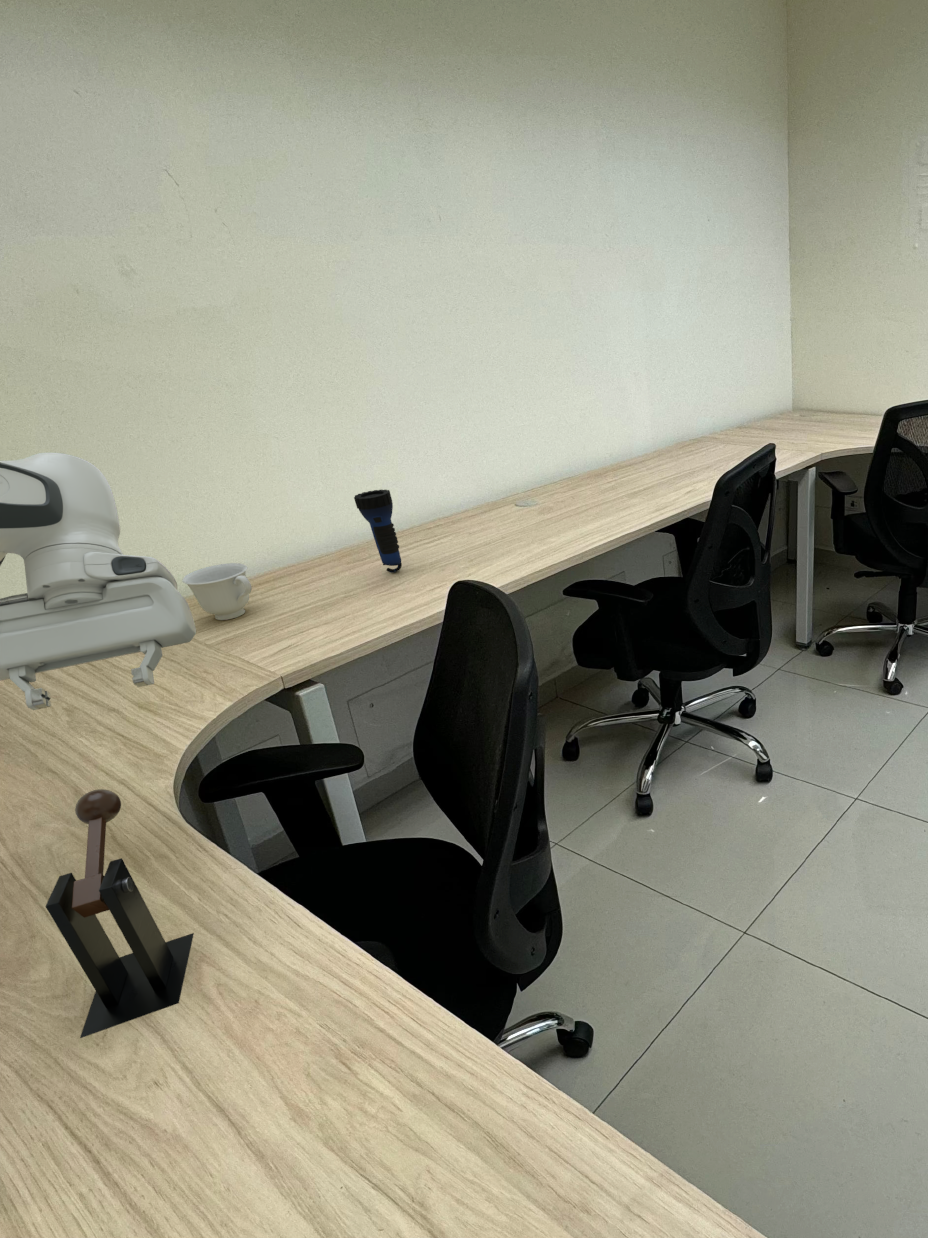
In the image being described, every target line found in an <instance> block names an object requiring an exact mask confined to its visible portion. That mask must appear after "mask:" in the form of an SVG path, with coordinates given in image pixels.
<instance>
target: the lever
mask: <svg viewBox="0 0 928 1238" xmlns="http://www.w3.org/2000/svg"><path fill="white" fill-rule="evenodd" d="M121 808H122V801H121V799H120V796H119V795H118V794H116V793H115V792H114V791H112V790H109V789H105V788H104V789H103V788H99V789H93V790H90V791H88V792H86V793H85V794H83V795H82V796H80V797H79V799H78V801H77V802H76V805H75V810H74V811H75V816H76V818H77V819H78V820H79V821H81V822H82V823H83V824H86V825H88V828H87V843H86V855H85V857H86V858H85V871H84V878H81V879H76V881H74V885H73V897H72V909H73V910H75V911H76V912H77V913H79V914H80V915H81V916H83V917H84V918H85V917H88V916H91V915H98V914H102V913H105V912H107V911H110V910H109V908H108V906H107V905H106V903H105V901H104V899H103V897H102V896H101V894H100V892H99V889H100V886H101V884H102V881H103V878H104V876H105V874H104V871H105V869H104V867H105V851H106V833H107V823H109V822H111V821H113V820H114V819H115V818H116V817H117V816H118V814H119V813H120V811H121Z"/></svg>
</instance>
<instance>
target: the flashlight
mask: <svg viewBox="0 0 928 1238" xmlns="http://www.w3.org/2000/svg"><path fill="white" fill-rule="evenodd" d="M353 499H354V502H355V506H356V509H358V511H359V512H360V514H361V516H362V517H363V518H364V519H365V521H367V522H368V524H369V526H370V530H371V532H372V536H373V539H374V543H375V545H376V548H377V551H378V554H379V557H380V560H381V563H382V566H389V567H388V568H386V571H387V572H389V573H397V572H399V571H400V570H401V568H402V565H403V564H402V557H401V553H400V545H399V540H398V536H397V532H396V529H395V527H394V526H395V525H394V523H393V522H392V515H393V510H394V509H393V508H394V505H393V504H394V503H393V499H392V495H391V491H390V489H373V490H367V491H364V492H361V493H357V494H355V495H354V497H353ZM390 567H395V568H390Z"/></svg>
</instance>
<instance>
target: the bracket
mask: <svg viewBox="0 0 928 1238" xmlns="http://www.w3.org/2000/svg"><path fill="white" fill-rule="evenodd" d="M104 873H105V874H104V878H103V881H102V884H101V886H100V889H99V892H100V894H101V896H102V897H103V899H104V901H105V903H106V905H107V906H108V908H109V910H108V911H109V912H110V914H111V916H112V918H113V919H114V921H115V923H116V924H117V926H118V928H119V930H120V933H121V934H122V935H123V937H124V939H125V941H126V943H127V945H128V947H129V948H130V950H131V952H130V953H128V954H125V955H121V956H119V954H118V952H117V950H116V949H115V947H114V944H113V943H112V942H111V939H110V938H109V937H108V934H107V933H106V931H105V929H104V928H103V926H102V924H101V922H100V920H99V918H98V917H97V914H95V915H91V916H88V917H85V918H84V917H83V916H81V915H80V914H79V913H77V912H76V911H75V910H73V909H72V897H73V885H74V881H77V879H76V877H75V876H74V874H73V872H69V873H65V874H61V875H60V876H58V878H57V880H56V881H55V884H54V887H53V889H52V891H51V893H50V896H49V897H48V900H47V902H46V904H45V908H46V910H47V912H48V914H49V915H50V917H51V919H52V920H53V922H54V924H55V925H56V927H57V929H58V930H59V932H60V933H61V935H62V937H63V939H64V940H65V942H66V944H67V945H68V947H69V948H70V951H71V952H72V953H73V955H74V957H75V958H76V961H77V962H78V963H79V965H80V967H81V969H82V970H83V972H84V974H85V976H86V977H87V979H88V981H89V982H90V984H91V985H92V987H93V989H94V990H95V992H94V994H93V998H92V1000H91V1004H90V1006H89V1010H88V1013H87V1016H86V1019H85V1022H84V1025H83V1028H82V1031H81V1033H80V1036H79V1039H82V1038H86V1037H88V1036H92V1035H93V1034H96V1033H100V1032H102V1031H105V1030H107V1029H111V1028H114V1027H116V1026H119V1025H121V1024H124V1023H127V1022H130V1021H133V1020H135V1019H138V1018H141V1017H144V1016H146V1015H150V1014H153V1013H156V1012H158V1011H162V1010H164V1009H166V1008H169V1007H173V1006H176V1005H178V1004H180V999H181V994H182V991H183V986H184V981H185V977H186V973H187V967H188V962H189V958H190V954H191V953H190V952H191V949H192V943H193V939H194V935H195V934H194V932H192V933H189V934H186V935H183V936H180V937H176V938H173V939H170V940H168V941H166V940H165V938H164V935H162V934H163V933H162V932H161V930H160V928H159V927H158V925H157V923H156V921H155V919H154V917H153V915H152V913H151V911H150V909H149V907H148V906H147V904H146V902H145V900H144V898H143V896H142V894H141V892H140V890H139V888H138V887H137V885H136V882H135V880H134V879H133V877H132V874H131V873H130V871H129V869H128V867H127V865H126V863H125V862H124V859H123V858H122V857H121V858H117V859H114V860H110V861H109V863H108V866H107V867H106V871H105V872H104Z"/></svg>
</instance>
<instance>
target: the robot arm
mask: <svg viewBox="0 0 928 1238" xmlns="http://www.w3.org/2000/svg"><path fill="white" fill-rule="evenodd" d="M120 535H121V524H120V517H119V513H118V508H117V503H116V499H115V495H114V492H113V490H112V487H111V485H110V482H109V480H108V479H107V477H106V476H105V474H104V473H103V472H102V471H101V470H100V469H99V468H98V467H97V466H96V465H95V464H93V463H92V462H90V461H88V460H87V459H84V458H82V457H79V456H76V455H73V454H68V453H63V452H51V451H49V452H47V451H46V452H39V453H35V454H32V455H29V456H27V457H25V458H20V459H11V460H0V567H1V566H2V564H3V562H4V561H5V559H6V556H7V554H14V555H18V556H19V557H21V558H22V560H23V564H24V573H25V584H26V592H25V593H19V594H14V595H8V596H5V597H1V598H0V682H1V681H4V680H9V681H11V682H12V683H13V684H14V685H15V686H17V688H18V689H20V690H21V691H22V692H24V696H25V697H24V699H25V705H26V708H28V709H30V710H32V711H36V710H40V709H46V708H51V706H52V701H51V692H49V691H48V690H46V689H45V688H43V687H40V688H36V687H34V686H33V684H31V683H36V681H37V676H36V674H39V673H44V672H45V673H46V672H49V671H54V670H55V671H56V670H59V669H64V668H69V667H74V666H79V665H85V664H89V663H93V662H100V661H104V660H109V659H114V658H119V657H124V656H128V655H129V656H130V655H133V654H138V653H142V654H143V655H144V656H143V659H142V660H141V662H140V665H139V667H135V668H131V669H130V672H131V675H132V678H131V679H132V680H131V681H132V684H133V685H134V686H136V687H137V688H143V687H147V686H151V685H155V677H154V671H155V670H156V668H157V666H158V665H159V663H160V661H161V659H162V657H163V650H162V648H168V647H174V646H178V645H182V644H187V643H188V644H189V643H190V642H191V641H192V640H193V639H194V638H195V636H196V635H197V627H196V624H195V620H194V616H193V612H192V610H191V608H190V605H189V603H188V601H187V599H186V598H185V597H184V596H183V594H182V593H181V592H180V591H179V590H178V582H177V579H176V578H175V576H174V575H173V573H172V572H171V571H170V570H169V569H168V567H167V566H166V565H164V564H163V563H162V562H161V561H160V560H158V559H157V558H156V557H154V556H147V555H134V554H133V555H131V554H124V553H123V550H122V549H121V547H120V545H119V538H120Z"/></svg>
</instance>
